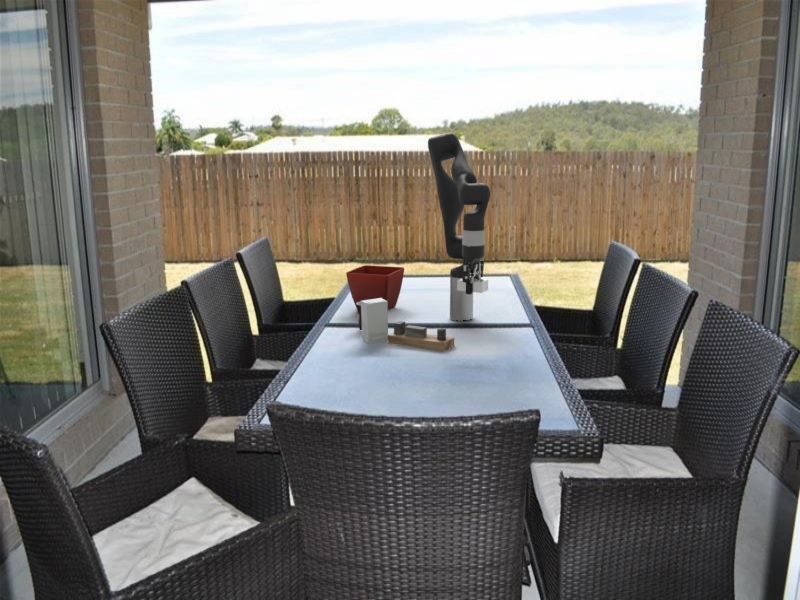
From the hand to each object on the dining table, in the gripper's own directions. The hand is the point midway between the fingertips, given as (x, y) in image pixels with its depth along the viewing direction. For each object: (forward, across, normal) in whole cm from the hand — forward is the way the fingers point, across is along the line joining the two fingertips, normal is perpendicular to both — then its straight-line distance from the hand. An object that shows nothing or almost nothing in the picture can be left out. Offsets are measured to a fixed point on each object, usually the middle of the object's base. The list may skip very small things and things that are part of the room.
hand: (472, 292), depth 255 cm
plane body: (+19, +6, -17) cm, 26 cm away
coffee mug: (+20, -5, -45) cm, 49 cm away
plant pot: (+20, -34, -59) cm, 71 cm away
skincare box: (+20, +9, -34) cm, 40 cm away
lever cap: (-1, 0, 0) cm, 1 cm away
